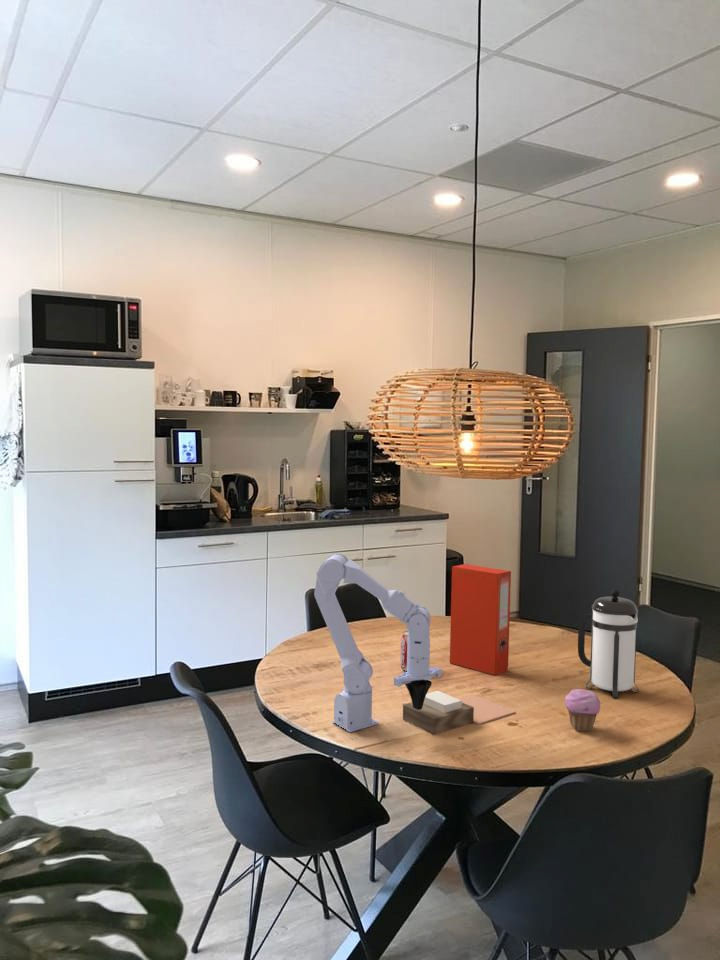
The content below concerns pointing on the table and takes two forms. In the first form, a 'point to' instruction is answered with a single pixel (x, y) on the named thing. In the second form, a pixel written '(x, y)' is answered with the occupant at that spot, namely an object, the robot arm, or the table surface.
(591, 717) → the cupcake
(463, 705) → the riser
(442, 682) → the table surface
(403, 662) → the soda can
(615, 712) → the table surface
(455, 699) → the tile
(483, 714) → the mat
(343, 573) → the robot arm
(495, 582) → the file binder
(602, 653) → the coffee press
